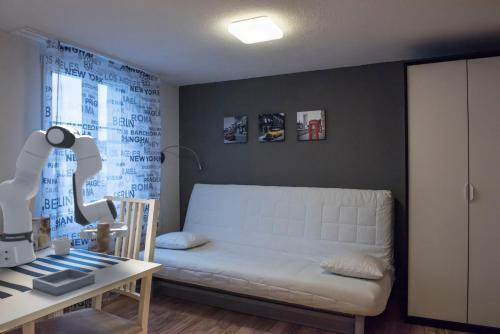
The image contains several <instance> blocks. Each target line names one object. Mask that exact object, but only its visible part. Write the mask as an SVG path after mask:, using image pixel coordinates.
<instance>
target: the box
mask: <svg viewBox="0 0 500 334" xmlns="http://www.w3.org/2000/svg"><path fill="white" fill-rule="evenodd" d="M95 277H96V276H95V273H91V272H88V271H84V270H80V269H76V268H73V267H69V268H65V269H63V270H62V269H61V270H58V271H55V272H51V273H49V274H48V273H47V274H45V275H42V276H38V277H34V278H32V282H31V283H32V289H34V290H36V291H40V292H43V293H46V294H47V295H51V296H54V297H60V296H62V295H65V294H68V293H71V292H73V291H76V290H79V289H82V288H85V287H87V286H90V285H94V284H95Z"/></svg>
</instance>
